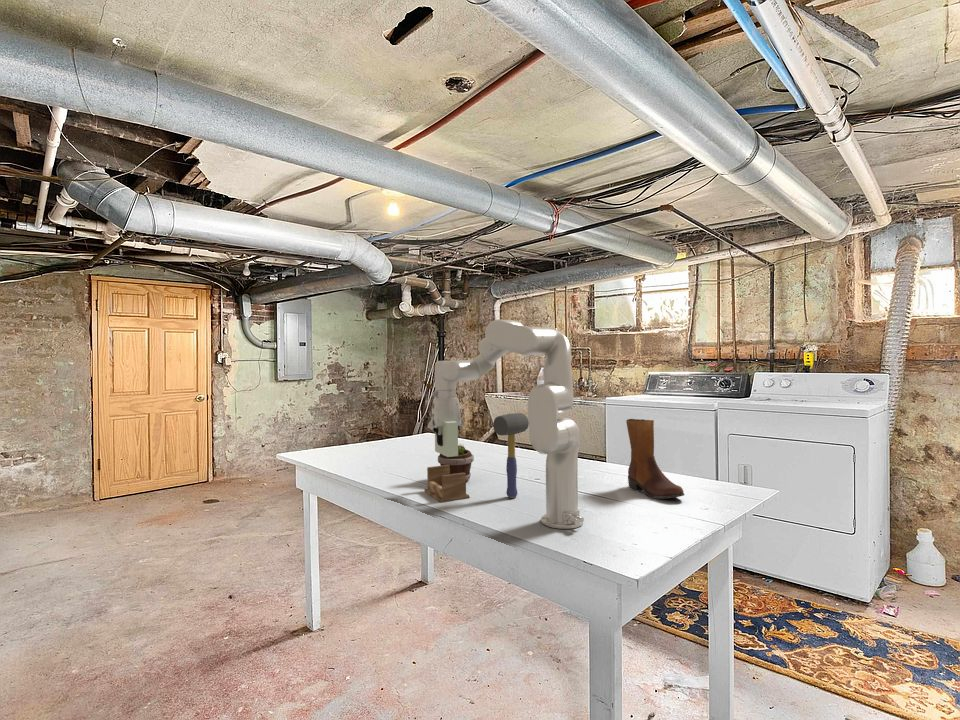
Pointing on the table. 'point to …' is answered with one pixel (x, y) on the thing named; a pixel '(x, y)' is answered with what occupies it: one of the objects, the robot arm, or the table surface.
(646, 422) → the boot
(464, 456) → the flowerpot
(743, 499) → the table surface
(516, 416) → the rubber mallet
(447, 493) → the wooden holder
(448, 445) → the door panel
